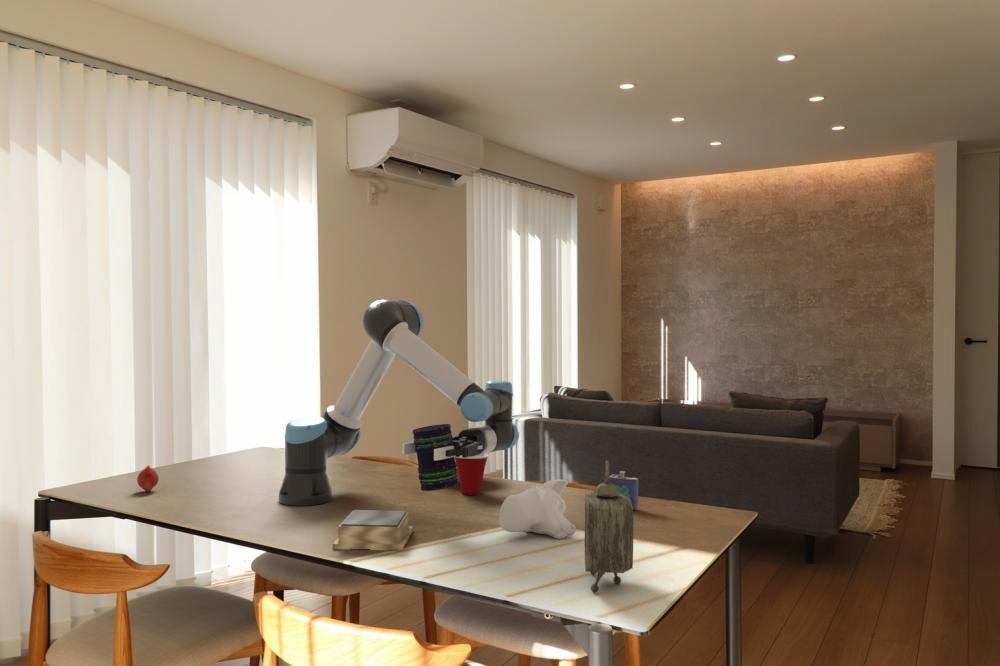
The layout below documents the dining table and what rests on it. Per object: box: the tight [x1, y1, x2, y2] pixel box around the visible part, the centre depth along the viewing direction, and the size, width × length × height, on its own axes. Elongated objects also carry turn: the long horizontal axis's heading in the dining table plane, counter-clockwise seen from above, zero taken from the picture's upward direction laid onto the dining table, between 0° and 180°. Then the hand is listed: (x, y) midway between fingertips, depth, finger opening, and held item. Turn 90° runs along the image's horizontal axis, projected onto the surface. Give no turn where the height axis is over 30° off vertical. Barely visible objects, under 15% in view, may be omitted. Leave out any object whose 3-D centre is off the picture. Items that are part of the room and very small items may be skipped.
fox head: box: [498, 479, 577, 540], centre depth 187 cm, size 13×17×20 cm
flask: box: [609, 470, 639, 511], centre depth 213 cm, size 9×3×11 cm, turn 68°
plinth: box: [332, 509, 414, 551], centre depth 181 cm, size 16×16×5 cm
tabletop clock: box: [584, 459, 635, 594], centre depth 152 cm, size 14×9×25 cm, turn 175°
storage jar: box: [411, 423, 460, 492], centre depth 189 cm, size 10×10×15 cm
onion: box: [136, 464, 159, 492], centre depth 227 cm, size 6×6×8 cm
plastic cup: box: [454, 453, 489, 496], centre depth 230 cm, size 11×11×12 cm
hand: (418, 451), depth 185 cm, fingers closed on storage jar, 10 cm apart
